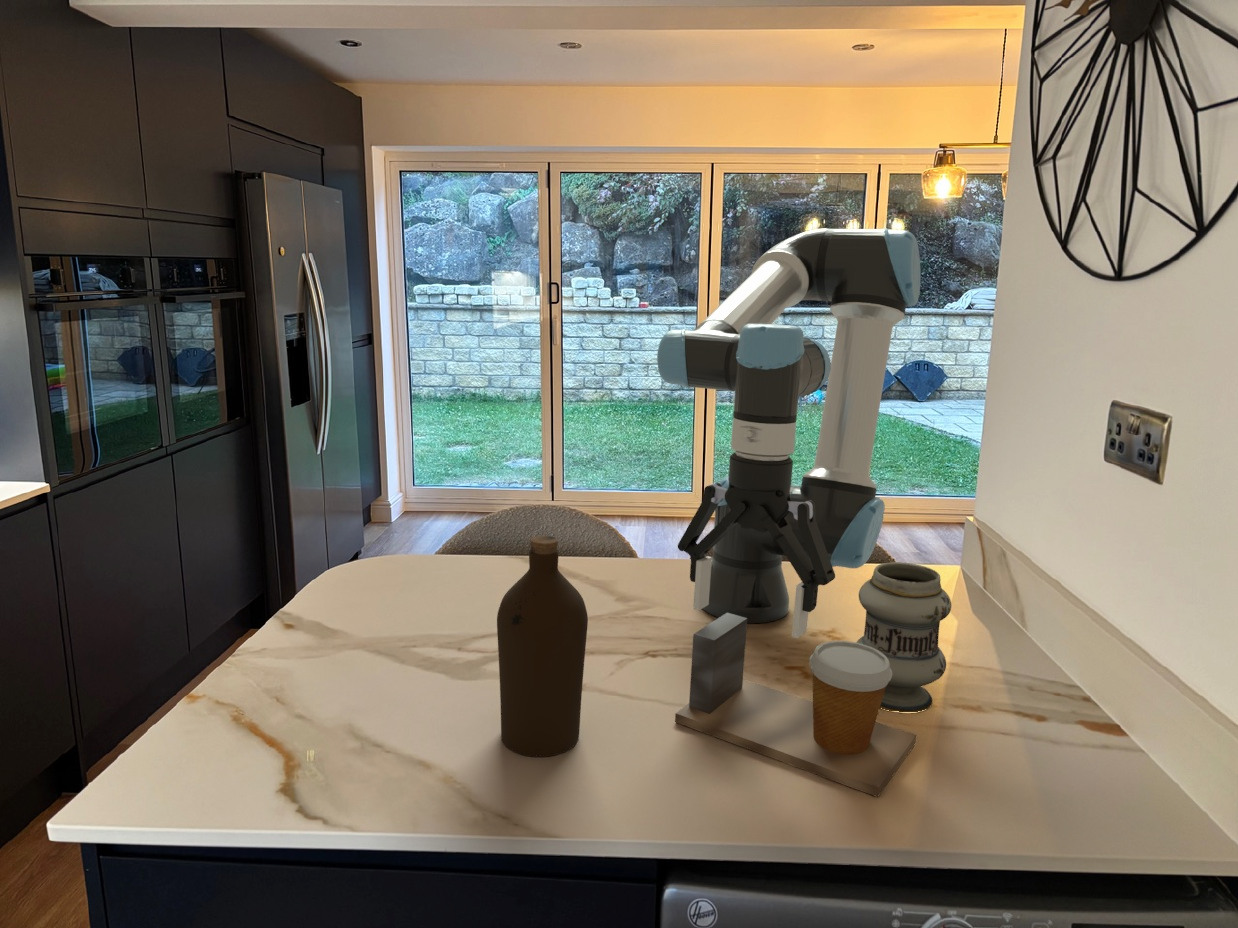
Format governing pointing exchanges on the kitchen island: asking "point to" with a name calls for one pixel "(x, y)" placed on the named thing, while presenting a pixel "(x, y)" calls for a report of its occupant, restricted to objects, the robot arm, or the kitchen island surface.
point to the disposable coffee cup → (847, 694)
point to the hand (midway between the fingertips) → (748, 620)
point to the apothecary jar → (906, 630)
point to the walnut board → (775, 715)
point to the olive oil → (541, 656)
